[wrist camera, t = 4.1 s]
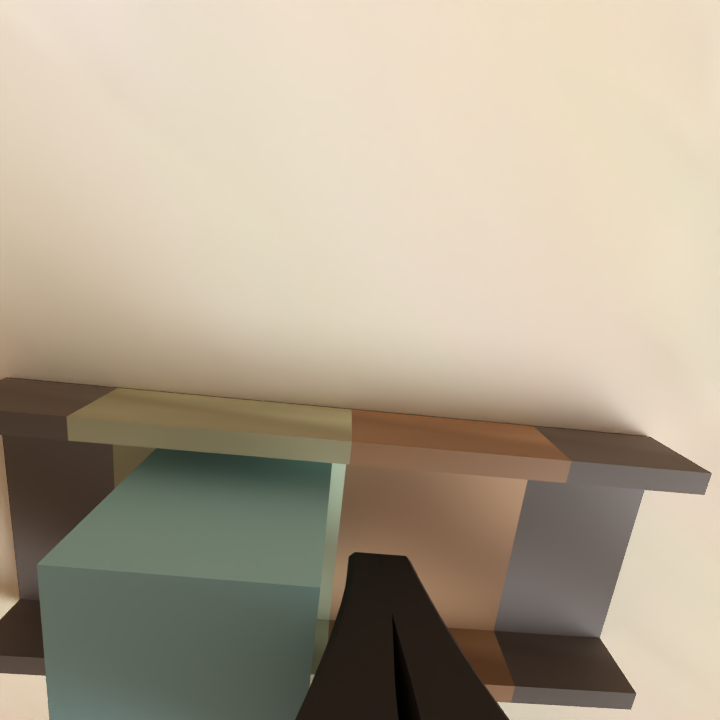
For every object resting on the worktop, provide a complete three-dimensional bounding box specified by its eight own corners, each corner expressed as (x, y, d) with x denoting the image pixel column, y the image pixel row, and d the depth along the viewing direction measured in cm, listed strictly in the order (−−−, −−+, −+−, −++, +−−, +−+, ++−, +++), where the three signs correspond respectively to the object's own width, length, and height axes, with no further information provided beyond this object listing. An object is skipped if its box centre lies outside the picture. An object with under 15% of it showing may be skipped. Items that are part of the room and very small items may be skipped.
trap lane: (589, 642, 12) (631, 709, 10) (30, 605, 11) (-30, 671, 9) (650, 436, 10) (712, 473, 9) (7, 377, 10) (-70, 404, 8)
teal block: (317, 596, 11) (298, 786, 7) (162, 583, 11) (53, 771, 7) (332, 457, 10) (320, 587, 6) (163, 441, 10) (36, 564, 6)
